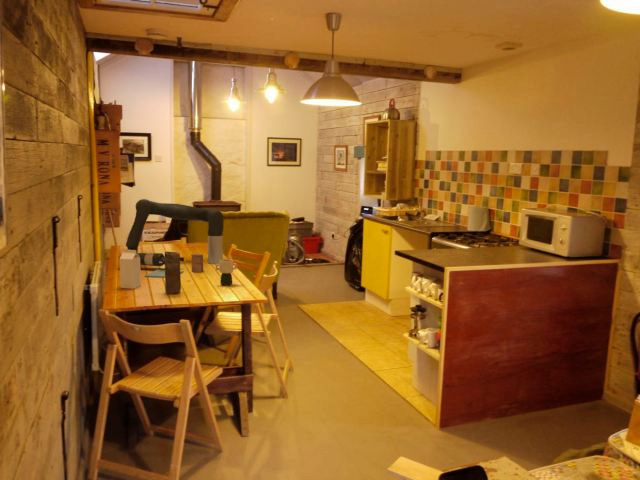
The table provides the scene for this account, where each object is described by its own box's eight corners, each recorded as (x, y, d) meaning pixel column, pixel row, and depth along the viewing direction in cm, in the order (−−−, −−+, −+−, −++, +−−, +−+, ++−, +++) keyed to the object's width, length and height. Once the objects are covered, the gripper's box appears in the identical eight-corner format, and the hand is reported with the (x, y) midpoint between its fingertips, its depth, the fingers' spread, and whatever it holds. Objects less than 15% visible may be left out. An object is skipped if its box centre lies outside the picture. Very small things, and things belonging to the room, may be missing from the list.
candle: (167, 290, 266) (166, 250, 263) (182, 290, 266) (181, 250, 263) (163, 294, 258) (162, 253, 255) (179, 294, 259) (178, 253, 256)
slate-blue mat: (157, 270, 310) (157, 269, 310) (183, 272, 308) (183, 270, 308) (144, 276, 295) (144, 275, 295) (172, 278, 292) (172, 276, 292)
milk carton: (133, 289, 268) (132, 251, 265) (120, 288, 269) (119, 250, 266) (141, 285, 274) (139, 249, 272) (128, 284, 276) (127, 248, 273)
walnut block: (195, 270, 313) (194, 253, 311) (203, 271, 312) (203, 254, 311) (191, 272, 308) (191, 255, 306) (200, 272, 307) (199, 255, 306)
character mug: (236, 282, 285) (235, 258, 283) (237, 285, 278) (237, 261, 276) (215, 283, 282) (214, 259, 280) (216, 286, 275) (216, 261, 273)
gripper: (148, 255, 305) (175, 256, 303) (159, 251, 319) (185, 252, 317) (149, 268, 307) (176, 269, 304) (160, 263, 320) (186, 264, 318)
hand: (181, 260), depth 311 cm, fingers open, 8 cm apart
